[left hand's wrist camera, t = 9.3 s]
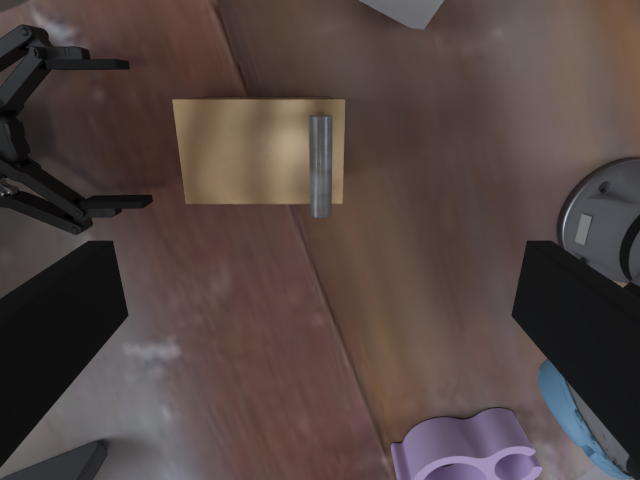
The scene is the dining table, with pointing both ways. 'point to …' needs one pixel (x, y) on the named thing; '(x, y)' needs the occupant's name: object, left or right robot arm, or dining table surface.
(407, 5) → the electronic device
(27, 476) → the rounded dark grey slab
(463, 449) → the purple wavy organizer
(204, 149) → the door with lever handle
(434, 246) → the dining table surface
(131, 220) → the dining table surface
